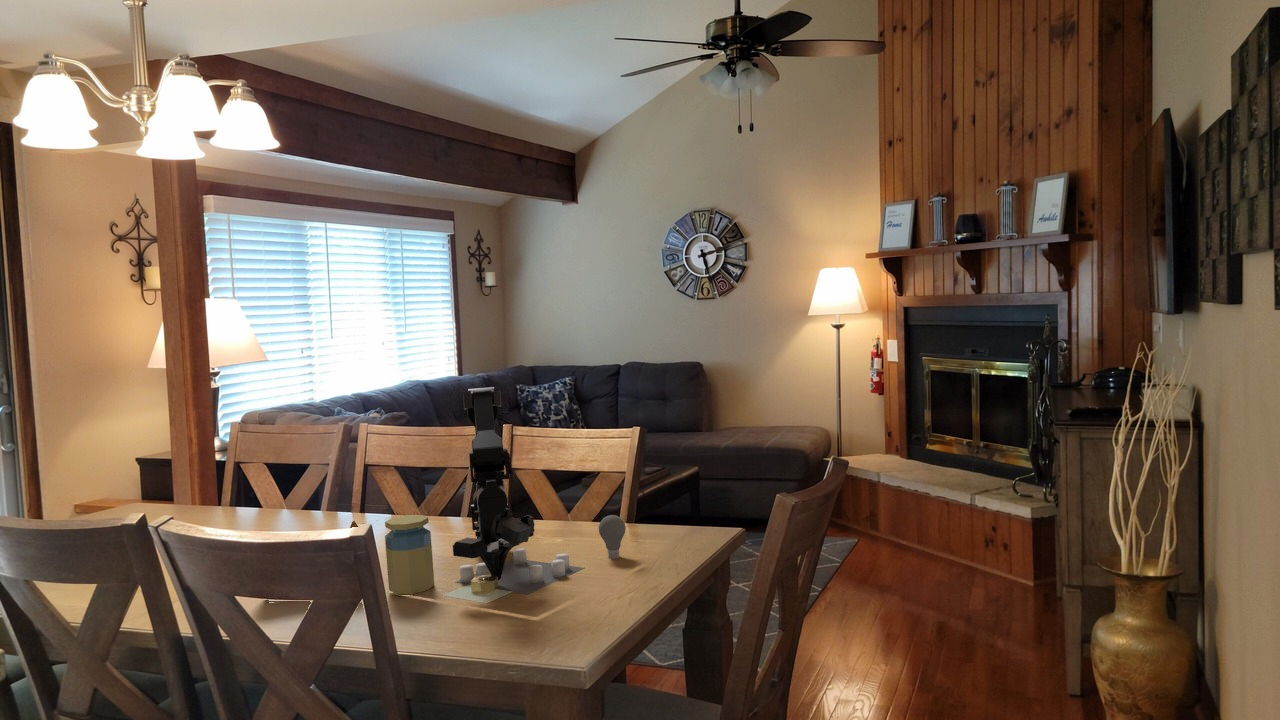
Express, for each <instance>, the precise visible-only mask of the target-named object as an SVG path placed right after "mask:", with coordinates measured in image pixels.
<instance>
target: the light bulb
mask: <svg viewBox="0 0 1280 720" xmlns="http://www.w3.org/2000/svg"><path fill="white" fill-rule="evenodd" d="M626 529H627V528H626V524H625V522H624V520H623V519H622V518H621V517H620V516H618V515H615V514H610V515H606V516H604V517H603V518H602V519H601V521H600V522H599V525H598V533H599V536H600V537H601V539H602V540H603V542H604V544H605V548H606V549H607V555H608V556H607V559H611V560H615V559H619V558H620V548H621V542H622V540H623V538H624V536H625V533H626Z"/></svg>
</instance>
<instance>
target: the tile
mask: <svg viewBox="0 0 1280 720" xmlns="http://www.w3.org/2000/svg"><path fill="white" fill-rule="evenodd" d="M511 593H512V592H511V591H505V590H499V589H496V590H495V591H494V592H488V593H483V594H480V593H475V592H471V585H467V584H465V586H462V587H459V588H456V589H455V590H452V591H450V592H449V591H448V592H446V593H444V594H443V595H442V596H443V597H447V598H454V599H460V600H466V601H472V602H476V603H482V604H489V603H490V602H493V601H495V600H498V599H500V598H502V597H504V596H506V595H509V594H511Z"/></svg>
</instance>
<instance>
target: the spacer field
mask: <svg viewBox="0 0 1280 720" xmlns="http://www.w3.org/2000/svg"><path fill="white" fill-rule="evenodd" d="M584 569H585V567H581V566H574V565H570V554H568V553H558V554H555V559H553V560H551V562H544V561H535V560H529V559H528V560H527V549H526V548H523V547H522V548H521V547H518V548H515V549H513V558H512V559H510V560H507V561H506V560H505V563H504V567H503V571H502V575H501V579H500V580H498V588H497V589H499V590H505V591H511V593H515V594H516V593H517V594H521V595H529V594H531V593H535V592H537V591H539V590H541V589H543V588H545V587H547V586H549V585H551V584H553V583H556V582H558V581H560V580H562V579H565V578H567V577H569V576H571V575H573V574H575V573H577V572H579V571H580V572H581V571H582V570H584ZM474 570H475V572H476V573H474ZM459 574H460V575H459V576H460V578H459V580H457V581H455V582H454V583H455V584H462V585H471V580H472V579H473V578H474V577H478V576H483V575H491V573H490V571H489V570H488V568H487V566H486V565H485V563H484V562H479V563H477V564H475V569H474V565H473V564H463V565H460V566H459Z"/></svg>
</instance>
